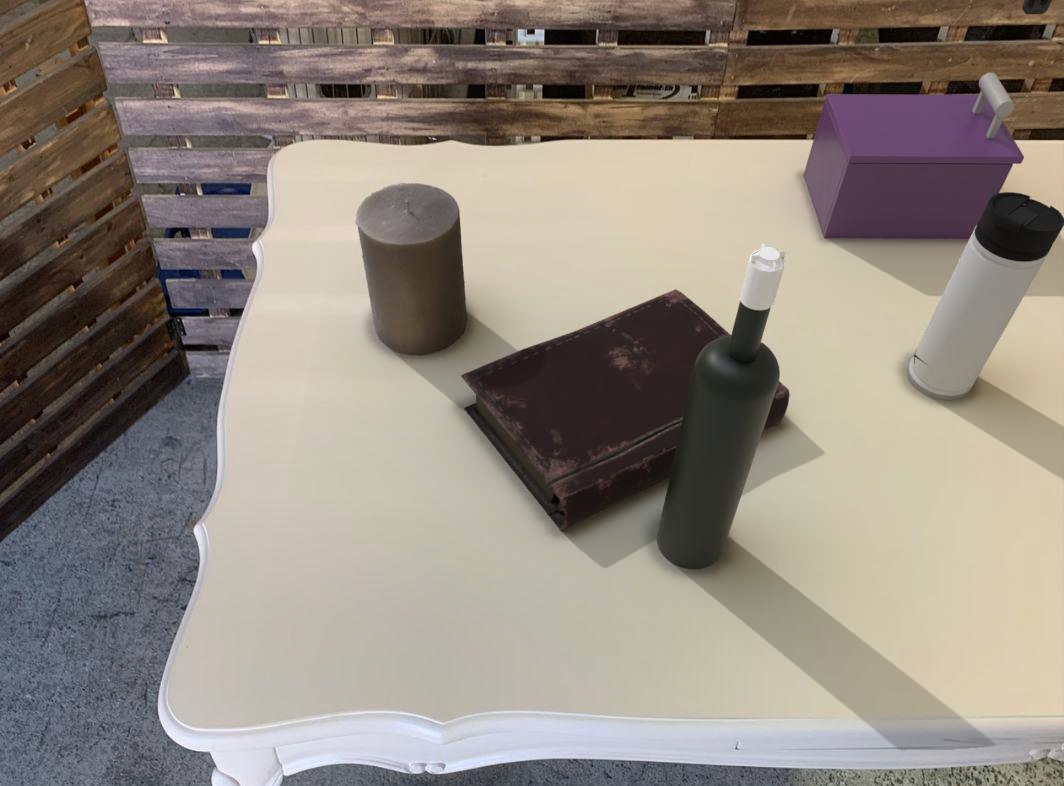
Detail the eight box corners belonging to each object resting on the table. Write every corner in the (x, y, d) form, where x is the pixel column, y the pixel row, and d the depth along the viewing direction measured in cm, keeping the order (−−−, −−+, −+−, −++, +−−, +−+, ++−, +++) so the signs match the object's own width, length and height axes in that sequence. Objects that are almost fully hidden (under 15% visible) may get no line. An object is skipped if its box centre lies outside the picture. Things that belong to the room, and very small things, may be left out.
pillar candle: (482, 341, 93) (477, 213, 81) (394, 370, 90) (376, 243, 78) (444, 286, 98) (433, 158, 86) (359, 313, 95) (337, 185, 83)
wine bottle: (732, 565, 77) (834, 276, 52) (668, 578, 76) (741, 290, 51) (709, 513, 80) (794, 218, 55) (647, 525, 79) (707, 231, 55)
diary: (782, 429, 86) (796, 392, 82) (564, 540, 78) (566, 504, 74) (665, 318, 95) (671, 279, 91) (459, 407, 87) (456, 368, 83)
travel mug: (890, 382, 90) (974, 205, 73) (925, 351, 92) (1013, 173, 76) (946, 415, 87) (1046, 239, 71) (980, 382, 90) (1084, 205, 74)
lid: (984, 101, 103) (1004, 57, 99) (1021, 164, 95) (1043, 118, 91) (824, 100, 102) (837, 55, 98) (848, 163, 95) (863, 117, 91)
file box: (944, 180, 111) (977, 102, 103) (975, 243, 103) (1013, 164, 95) (802, 179, 110) (824, 101, 102) (822, 242, 103) (848, 163, 95)
